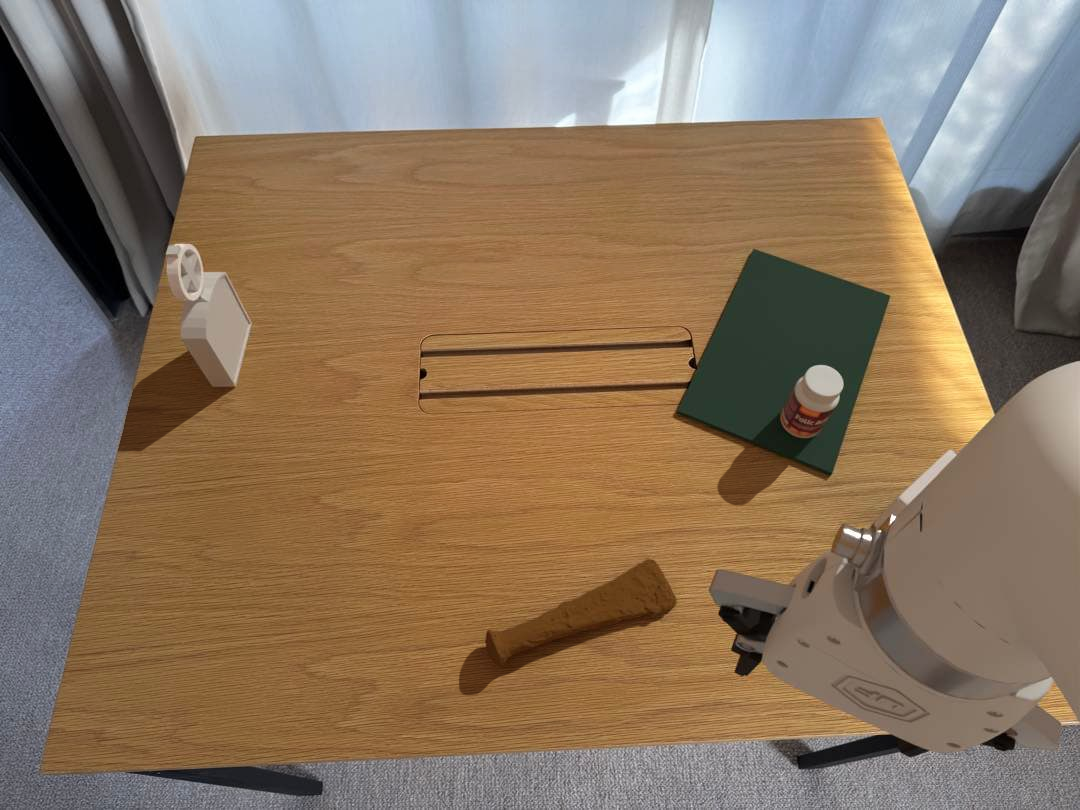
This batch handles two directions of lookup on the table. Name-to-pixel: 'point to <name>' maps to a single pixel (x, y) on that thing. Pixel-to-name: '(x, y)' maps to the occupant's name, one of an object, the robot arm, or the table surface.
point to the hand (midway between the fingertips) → (825, 689)
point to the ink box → (914, 488)
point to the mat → (784, 355)
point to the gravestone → (208, 315)
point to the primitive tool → (588, 611)
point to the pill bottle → (812, 401)
